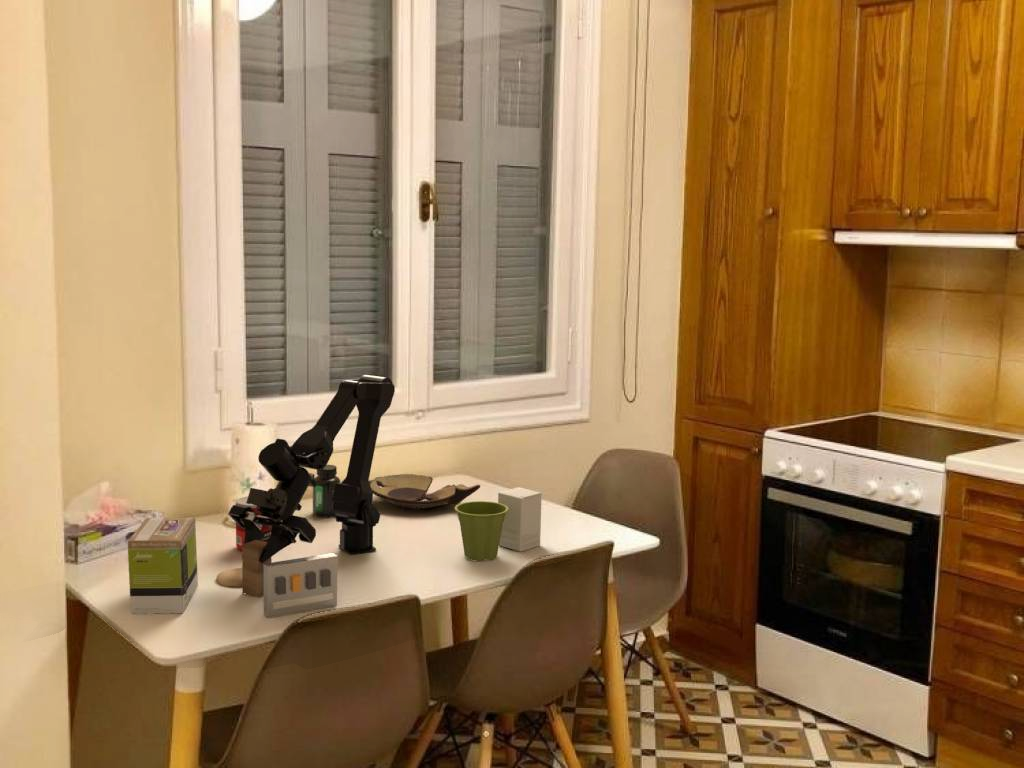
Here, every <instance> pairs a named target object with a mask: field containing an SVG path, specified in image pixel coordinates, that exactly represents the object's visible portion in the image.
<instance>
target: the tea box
mask: <svg viewBox="0 0 1024 768" xmlns="http://www.w3.org/2000/svg"><path fill="white" fill-rule="evenodd" d="M196 525H197V524H196V517H195V516H194V517H193V516H192V517H145V519H144V520H143V522H141V524H140V525H139V526H138V528H137V529H136V530H135V531H134V533H133V534H132V535H131V536H130V538H129V539H128V540H127V559H128V560H127V561H128V579H129V580H128V582H129V583H128V584H129V601H130V602H129V604H130V605H129V606H130V613H131V614H132V615H138V614H137V613H142V614H141V615H148V613H177V614H183V613H184V612H185V610H186V608H187V606H188V604H189V602H190V601H191V600H192V597H193V595H194V594H195V592H196V590H197V588H198V587H199V575H198V574H199V573H198V555H197V553H198V552H197V536H196V535H197V534H196V533H197V530H196V529H197V528H196V527H197V526H196ZM135 613H136V614H135Z"/></svg>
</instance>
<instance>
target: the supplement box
mask: <svg viewBox="0 0 1024 768" xmlns="http://www.w3.org/2000/svg"><path fill="white" fill-rule="evenodd" d="M542 494H543V493H542V492H539V491H535V490H532V489H528V488H523V487H520V486H518V487H514V488H510V489H506V490H502V491H500V492H499V491H498V493H497V500H498V501H497V503H501V504H504V505H506V506H507V507H508V511H507V512H506V514H505V519H504V522H503V526H502V531H501V537H500V542H499V547H504V548H506V549H510V550H514V551H517V552H523V551H527V550H530V549H534V548H536V547H539V546H541V528H542V527H541V526H542V525H541V524H542Z"/></svg>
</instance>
